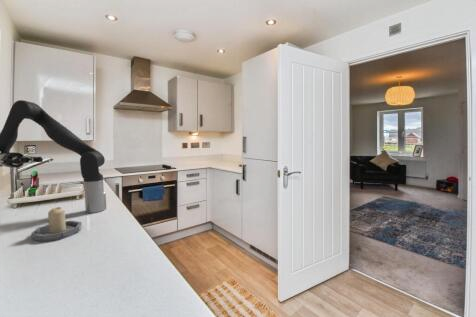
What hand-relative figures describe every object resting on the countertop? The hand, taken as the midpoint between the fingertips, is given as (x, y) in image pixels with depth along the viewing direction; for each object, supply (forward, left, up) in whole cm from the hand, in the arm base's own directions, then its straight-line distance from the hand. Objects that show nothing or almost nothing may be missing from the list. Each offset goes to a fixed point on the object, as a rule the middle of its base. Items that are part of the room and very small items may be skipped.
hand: (31, 160), depth 112 cm
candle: (+6, +26, -29) cm, 40 cm away
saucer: (+6, +26, -30) cm, 40 cm away
